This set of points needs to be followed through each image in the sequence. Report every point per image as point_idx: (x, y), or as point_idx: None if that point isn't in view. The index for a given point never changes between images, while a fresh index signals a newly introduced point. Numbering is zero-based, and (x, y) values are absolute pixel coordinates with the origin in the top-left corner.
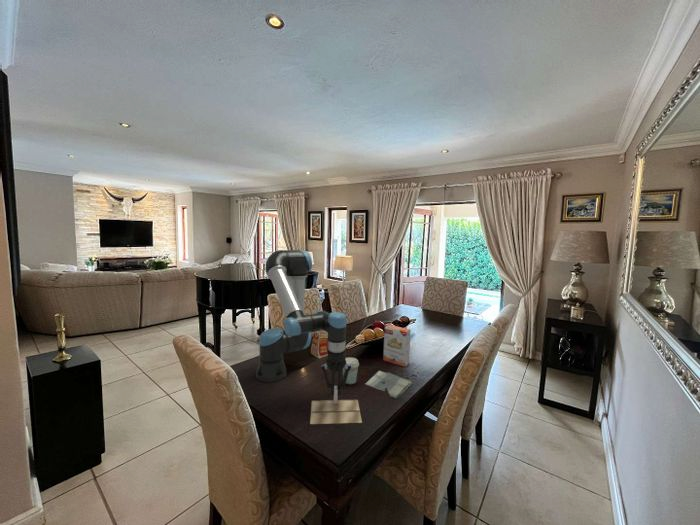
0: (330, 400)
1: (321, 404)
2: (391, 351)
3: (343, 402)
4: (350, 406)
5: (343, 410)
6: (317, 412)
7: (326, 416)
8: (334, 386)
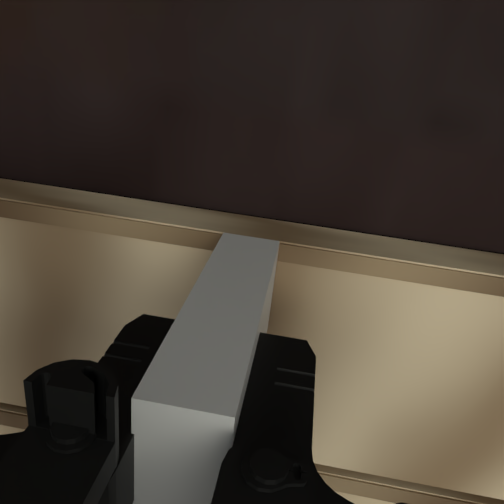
0: (171, 236)
1: (44, 295)
2: None
3: (368, 317)
4: (443, 419)
5: (322, 461)
6: (12, 424)
7: None
8: (145, 425)
